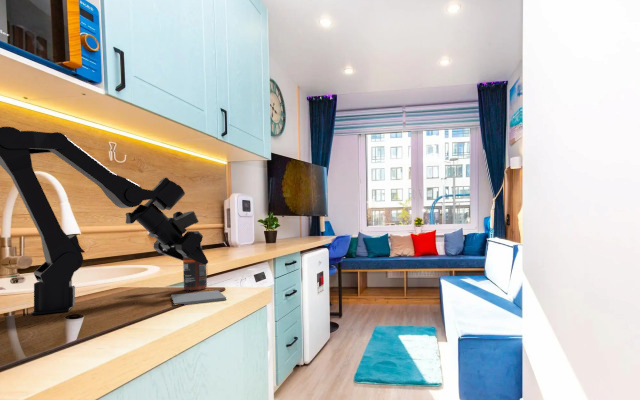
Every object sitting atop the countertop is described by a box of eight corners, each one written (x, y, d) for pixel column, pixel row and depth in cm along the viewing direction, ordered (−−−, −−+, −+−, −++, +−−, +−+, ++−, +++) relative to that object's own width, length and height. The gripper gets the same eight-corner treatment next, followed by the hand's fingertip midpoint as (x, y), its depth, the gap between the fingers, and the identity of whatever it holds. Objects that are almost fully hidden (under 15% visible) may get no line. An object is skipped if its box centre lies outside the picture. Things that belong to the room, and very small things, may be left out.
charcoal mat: (174, 305, 84) (174, 303, 84) (171, 297, 94) (171, 295, 94) (226, 300, 88) (226, 297, 88) (218, 292, 98) (218, 290, 98)
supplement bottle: (209, 286, 108) (208, 245, 109) (203, 290, 102) (202, 247, 103) (187, 287, 108) (186, 246, 109) (180, 291, 102) (179, 248, 103)
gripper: (194, 198, 97) (234, 240, 104) (164, 203, 110) (201, 239, 117) (163, 232, 91) (208, 274, 98) (135, 232, 104) (176, 269, 111)
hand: (198, 262), depth 106 cm, fingers open, 9 cm apart
